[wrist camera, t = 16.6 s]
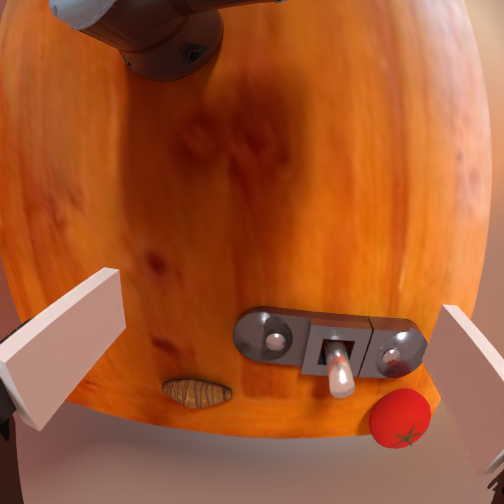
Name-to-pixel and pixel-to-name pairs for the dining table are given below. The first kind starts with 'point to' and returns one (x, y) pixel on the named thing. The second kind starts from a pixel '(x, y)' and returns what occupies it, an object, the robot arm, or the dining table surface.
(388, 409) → the tomato
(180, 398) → the croissant
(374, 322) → the chain end
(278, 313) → the chain end
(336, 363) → the steel pin
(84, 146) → the dining table surface
